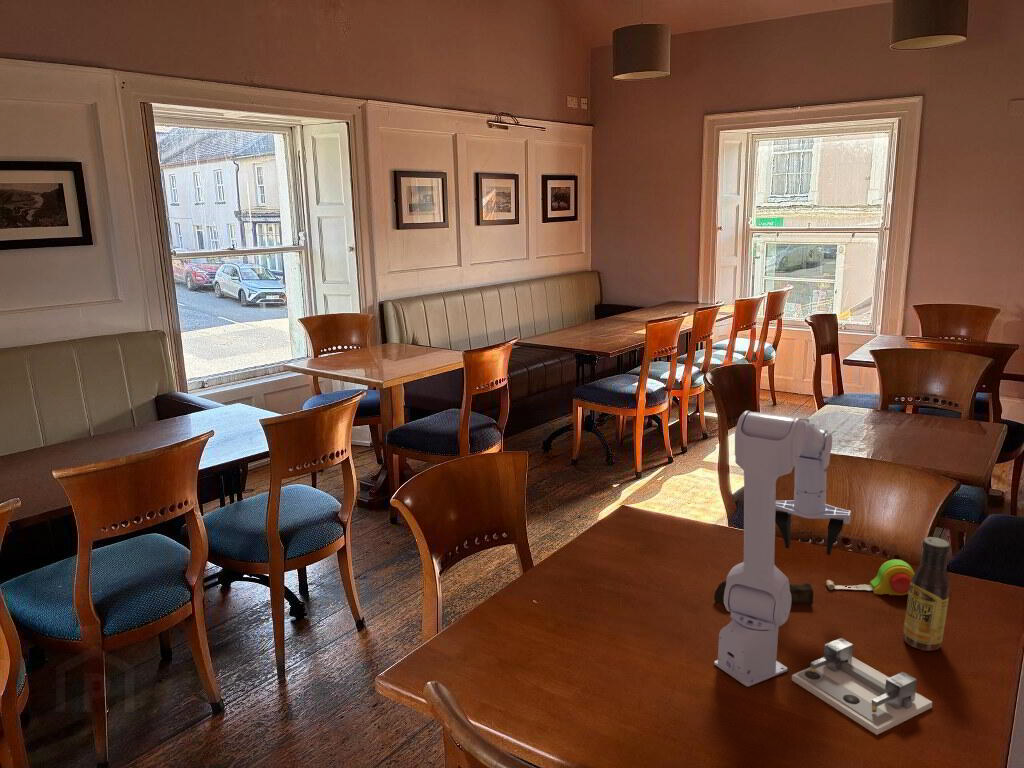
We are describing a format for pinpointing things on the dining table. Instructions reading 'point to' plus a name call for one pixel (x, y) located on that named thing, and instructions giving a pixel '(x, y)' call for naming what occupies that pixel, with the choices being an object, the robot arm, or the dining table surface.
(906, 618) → the sauce bottle
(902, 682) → the grey sliding bolt
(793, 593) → the hand tool
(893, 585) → the toy measuring tape
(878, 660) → the dining table surface
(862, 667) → the board
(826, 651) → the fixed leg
